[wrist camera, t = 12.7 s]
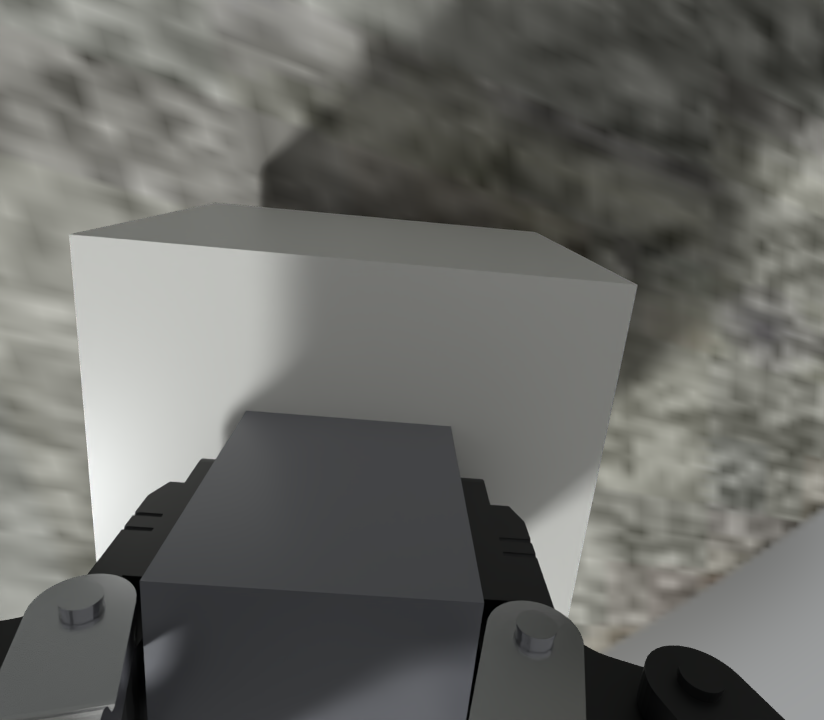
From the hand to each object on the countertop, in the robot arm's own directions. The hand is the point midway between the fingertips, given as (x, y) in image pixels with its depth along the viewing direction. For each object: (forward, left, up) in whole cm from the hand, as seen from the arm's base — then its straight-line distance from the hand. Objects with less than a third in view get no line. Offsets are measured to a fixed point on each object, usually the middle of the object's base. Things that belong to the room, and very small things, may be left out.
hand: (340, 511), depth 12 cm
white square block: (0, 0, -9) cm, 9 cm away
